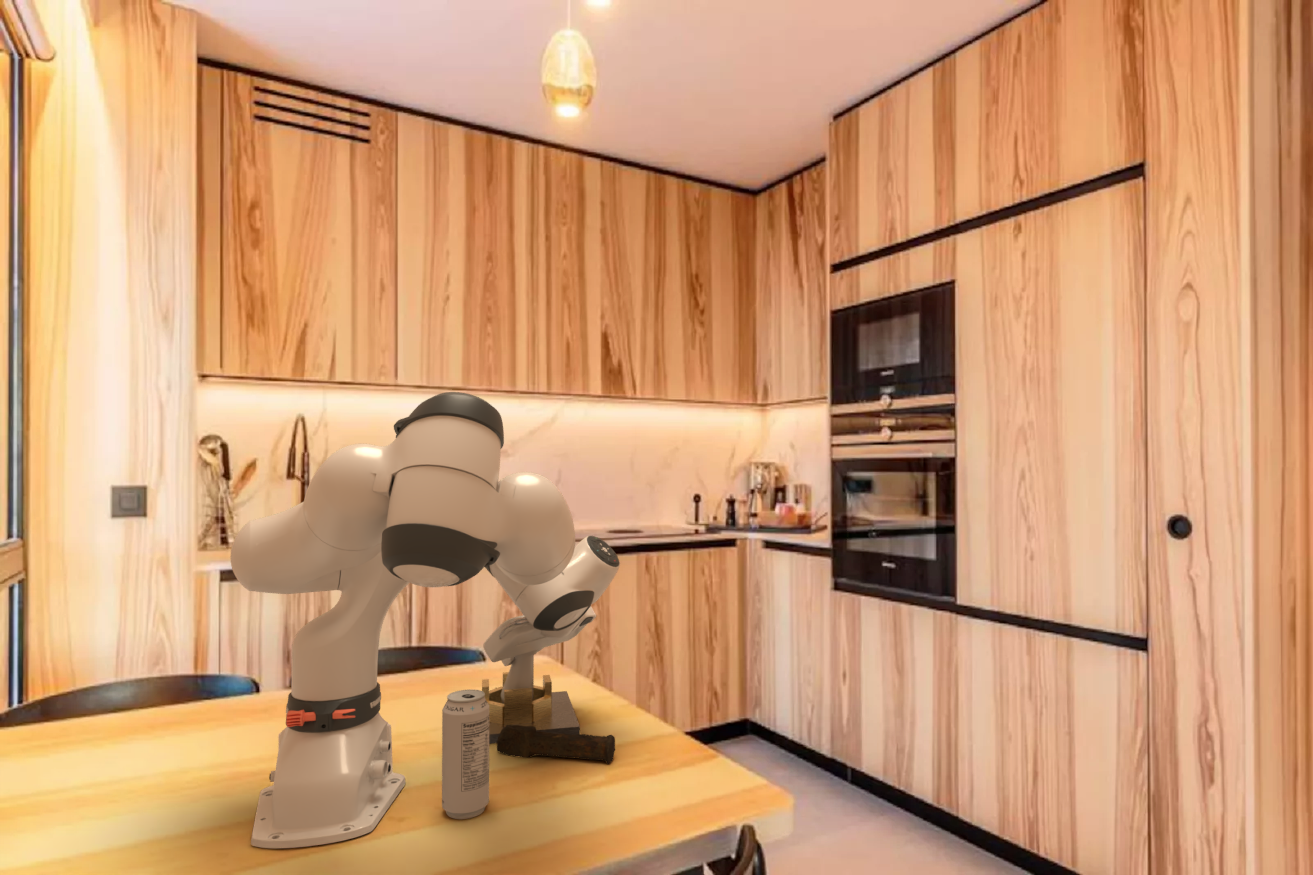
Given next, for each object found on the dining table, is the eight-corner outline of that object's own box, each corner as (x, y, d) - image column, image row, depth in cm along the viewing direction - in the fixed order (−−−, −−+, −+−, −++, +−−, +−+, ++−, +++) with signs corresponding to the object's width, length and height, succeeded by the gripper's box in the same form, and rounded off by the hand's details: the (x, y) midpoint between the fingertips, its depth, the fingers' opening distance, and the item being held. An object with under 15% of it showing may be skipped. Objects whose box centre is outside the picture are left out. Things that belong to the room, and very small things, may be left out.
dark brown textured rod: (617, 757, 115) (617, 727, 115) (610, 767, 111) (610, 736, 111) (504, 748, 119) (504, 719, 119) (494, 757, 115) (494, 727, 116)
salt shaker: (491, 706, 131) (503, 636, 130) (515, 698, 136) (527, 630, 134) (514, 720, 128) (527, 648, 126) (537, 711, 132) (550, 641, 131)
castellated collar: (579, 735, 124) (579, 693, 124) (456, 746, 119) (456, 702, 119) (566, 698, 143) (566, 662, 143) (460, 707, 138) (460, 669, 139)
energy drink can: (470, 795, 101) (471, 685, 102) (498, 808, 98) (498, 693, 98) (432, 811, 97) (433, 696, 97) (460, 825, 93) (460, 705, 93)
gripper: (519, 637, 117) (478, 689, 122) (602, 615, 133) (563, 661, 139) (500, 606, 119) (460, 658, 125) (584, 587, 136) (546, 634, 141)
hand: (515, 659), depth 132 cm, fingers closed on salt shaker, 3 cm apart
